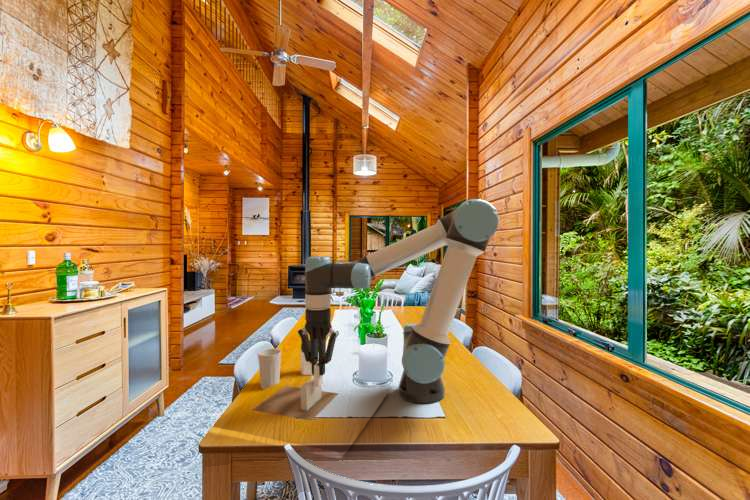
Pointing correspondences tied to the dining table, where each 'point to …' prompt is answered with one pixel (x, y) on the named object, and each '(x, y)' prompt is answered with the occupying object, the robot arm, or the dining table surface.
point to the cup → (269, 367)
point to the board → (293, 403)
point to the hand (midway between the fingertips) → (318, 385)
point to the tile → (309, 394)
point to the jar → (306, 364)
